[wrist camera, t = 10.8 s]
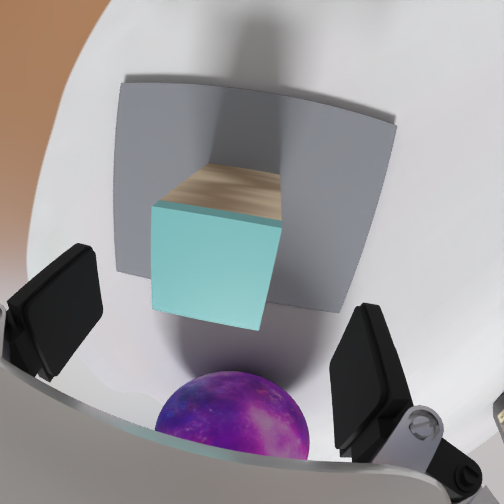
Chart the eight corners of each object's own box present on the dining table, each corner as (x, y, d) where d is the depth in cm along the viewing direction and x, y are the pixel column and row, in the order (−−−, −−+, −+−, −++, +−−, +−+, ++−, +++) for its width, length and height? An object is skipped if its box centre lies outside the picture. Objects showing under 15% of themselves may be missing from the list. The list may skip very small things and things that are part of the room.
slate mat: (394, 125, 18) (397, 125, 17) (338, 309, 25) (339, 313, 24) (124, 83, 18) (120, 83, 17) (119, 268, 25) (116, 271, 24)
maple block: (279, 174, 20) (281, 228, 11) (267, 240, 22) (258, 330, 13) (208, 163, 20) (151, 206, 11) (201, 228, 22) (152, 309, 13)
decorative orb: (173, 326, 27) (118, 461, 14) (324, 351, 27) (339, 494, 14) (177, 406, 34) (149, 503, 21) (288, 424, 34) (285, 524, 21)
